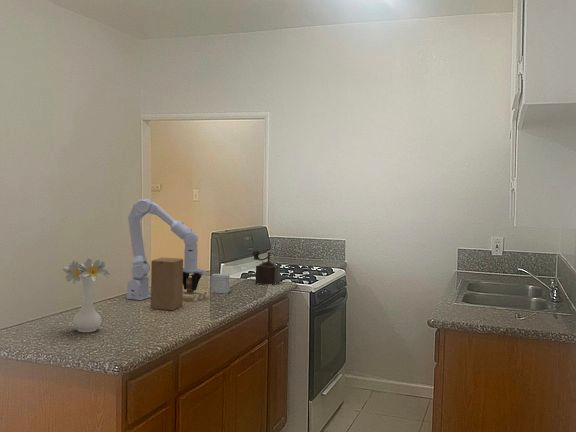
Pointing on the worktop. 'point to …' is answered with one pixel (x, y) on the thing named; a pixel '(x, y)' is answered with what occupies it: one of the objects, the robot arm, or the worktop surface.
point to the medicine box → (220, 283)
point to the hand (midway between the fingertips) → (190, 289)
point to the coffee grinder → (266, 270)
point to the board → (194, 295)
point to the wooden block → (166, 283)
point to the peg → (189, 285)
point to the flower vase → (86, 292)
